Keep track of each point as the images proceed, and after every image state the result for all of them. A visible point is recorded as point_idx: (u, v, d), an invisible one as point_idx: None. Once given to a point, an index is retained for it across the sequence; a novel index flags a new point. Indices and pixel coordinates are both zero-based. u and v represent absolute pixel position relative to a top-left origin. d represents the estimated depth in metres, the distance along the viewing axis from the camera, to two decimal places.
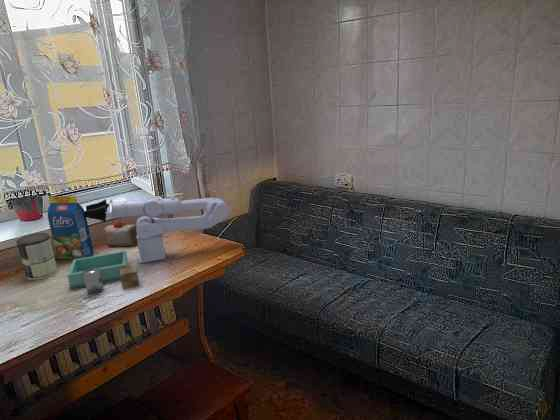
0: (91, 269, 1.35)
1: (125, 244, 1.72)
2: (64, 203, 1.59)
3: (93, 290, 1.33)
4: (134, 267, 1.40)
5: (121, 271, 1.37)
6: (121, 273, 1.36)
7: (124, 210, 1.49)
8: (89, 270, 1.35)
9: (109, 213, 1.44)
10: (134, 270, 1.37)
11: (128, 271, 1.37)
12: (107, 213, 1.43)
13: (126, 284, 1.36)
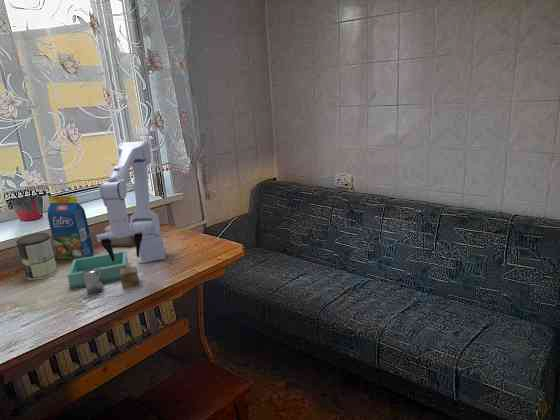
0: (91, 269, 1.35)
1: (125, 244, 1.72)
2: (64, 203, 1.59)
3: (93, 290, 1.33)
4: (134, 267, 1.40)
5: (121, 271, 1.37)
6: (121, 273, 1.36)
7: None
8: (89, 270, 1.35)
9: (144, 230, 1.36)
10: (134, 270, 1.37)
11: (128, 271, 1.37)
12: (145, 232, 1.36)
13: (126, 284, 1.36)
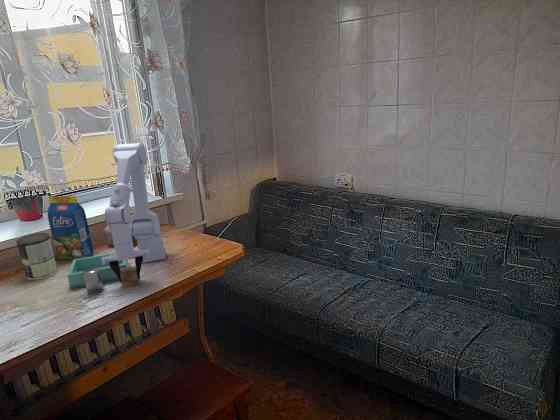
0: (91, 269, 1.35)
1: None
2: (64, 203, 1.59)
3: (93, 290, 1.33)
4: (134, 267, 1.40)
5: (121, 271, 1.37)
6: (121, 273, 1.36)
7: None
8: (89, 270, 1.35)
9: (148, 252, 1.38)
10: (134, 270, 1.37)
11: (128, 271, 1.37)
12: (148, 254, 1.38)
13: (126, 284, 1.36)
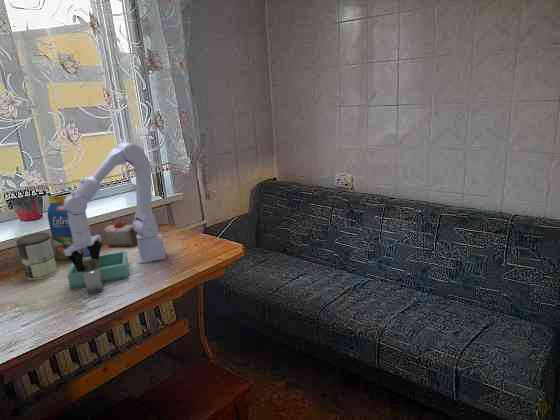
0: (91, 269, 1.35)
1: (125, 244, 1.72)
2: None
3: (93, 290, 1.33)
4: (88, 259, 1.47)
5: None
6: (86, 264, 1.42)
7: None
8: (89, 270, 1.35)
9: None
10: (94, 259, 1.46)
11: (90, 261, 1.44)
12: None
13: None
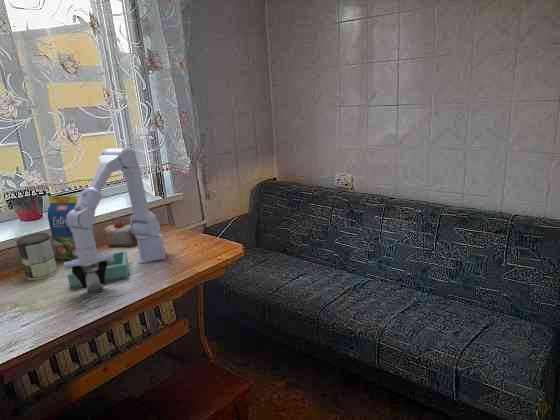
0: (91, 269, 1.35)
1: (125, 244, 1.72)
2: (64, 203, 1.59)
3: (93, 290, 1.33)
4: None
5: None
6: None
7: (95, 245, 1.32)
8: (89, 270, 1.35)
9: (113, 257, 1.35)
10: None
11: None
12: (113, 259, 1.35)
13: None
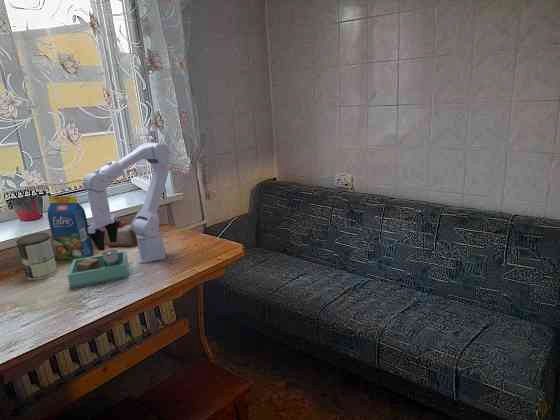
0: (107, 252, 1.46)
1: (126, 244, 1.72)
2: (64, 203, 1.59)
3: None
4: (88, 259, 1.47)
5: (82, 264, 1.43)
6: (86, 264, 1.42)
7: None
8: (106, 252, 1.46)
9: None
10: (94, 259, 1.46)
11: (90, 261, 1.44)
12: None
13: None
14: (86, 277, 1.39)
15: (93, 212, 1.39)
